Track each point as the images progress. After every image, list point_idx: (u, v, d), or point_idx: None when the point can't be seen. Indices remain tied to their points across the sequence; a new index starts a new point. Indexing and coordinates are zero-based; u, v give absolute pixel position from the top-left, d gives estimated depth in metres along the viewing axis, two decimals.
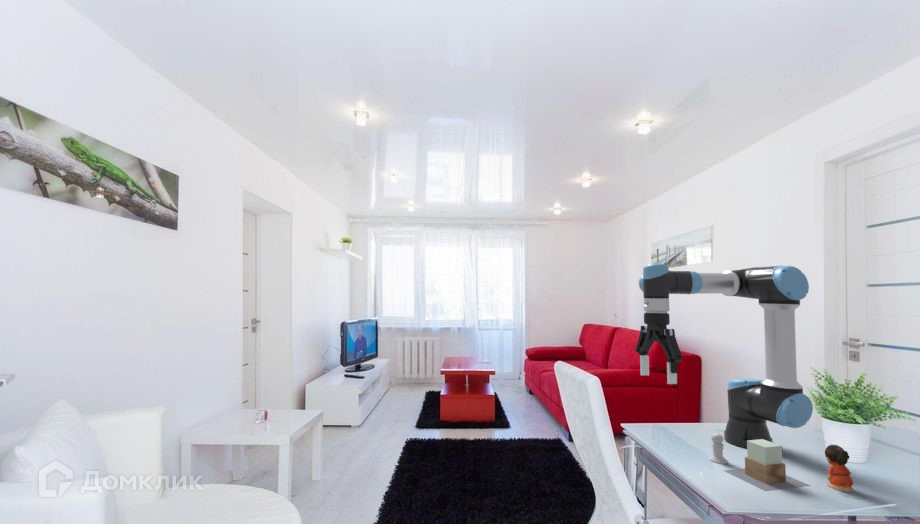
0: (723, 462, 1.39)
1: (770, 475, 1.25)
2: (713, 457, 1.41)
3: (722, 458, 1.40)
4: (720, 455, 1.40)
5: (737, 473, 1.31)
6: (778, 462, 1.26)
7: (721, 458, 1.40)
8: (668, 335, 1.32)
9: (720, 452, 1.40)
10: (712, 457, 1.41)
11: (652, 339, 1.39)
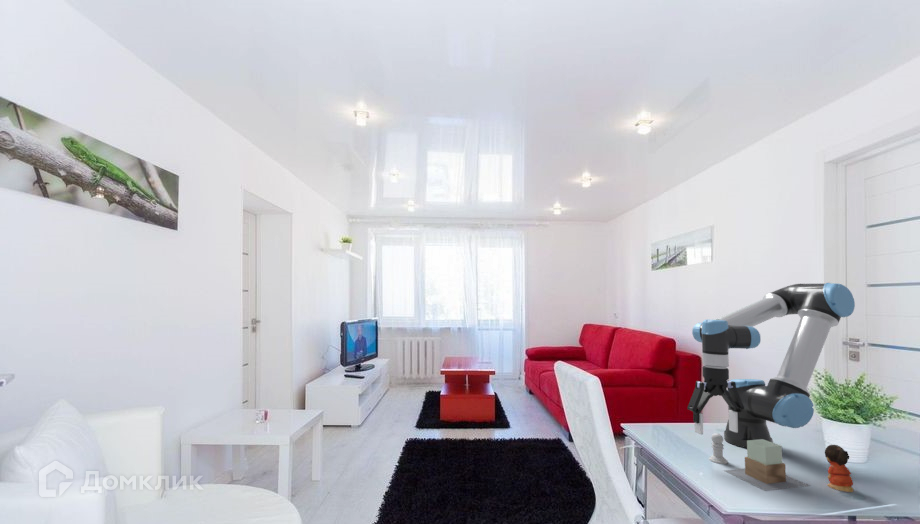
0: (723, 462, 1.39)
1: (770, 475, 1.25)
2: (713, 457, 1.41)
3: (722, 458, 1.40)
4: (720, 455, 1.40)
5: (737, 473, 1.31)
6: (778, 462, 1.26)
7: (721, 458, 1.40)
8: (695, 387, 1.42)
9: (720, 452, 1.40)
10: (712, 457, 1.41)
11: None
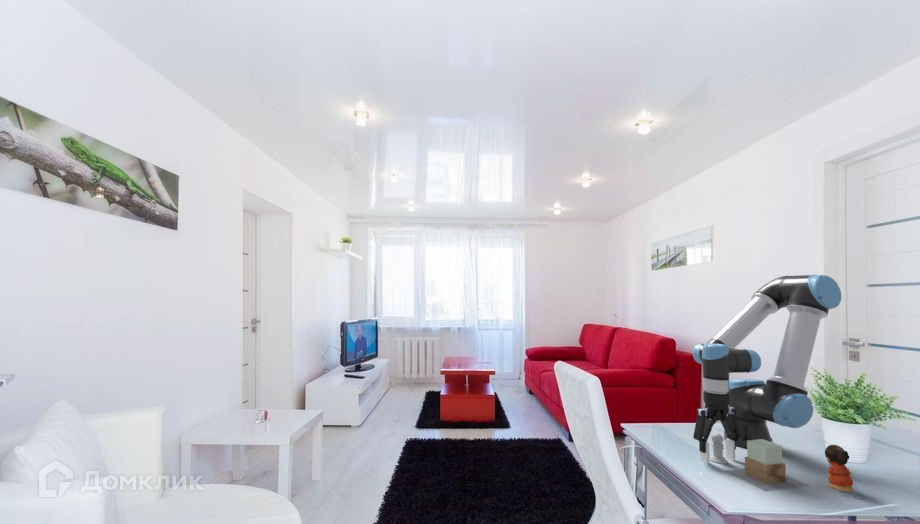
0: (723, 462, 1.39)
1: (770, 475, 1.25)
2: (713, 457, 1.41)
3: (722, 458, 1.40)
4: (720, 455, 1.40)
5: (737, 473, 1.31)
6: (778, 462, 1.26)
7: (721, 458, 1.40)
8: (697, 414, 1.42)
9: (720, 452, 1.40)
10: (712, 457, 1.41)
11: None
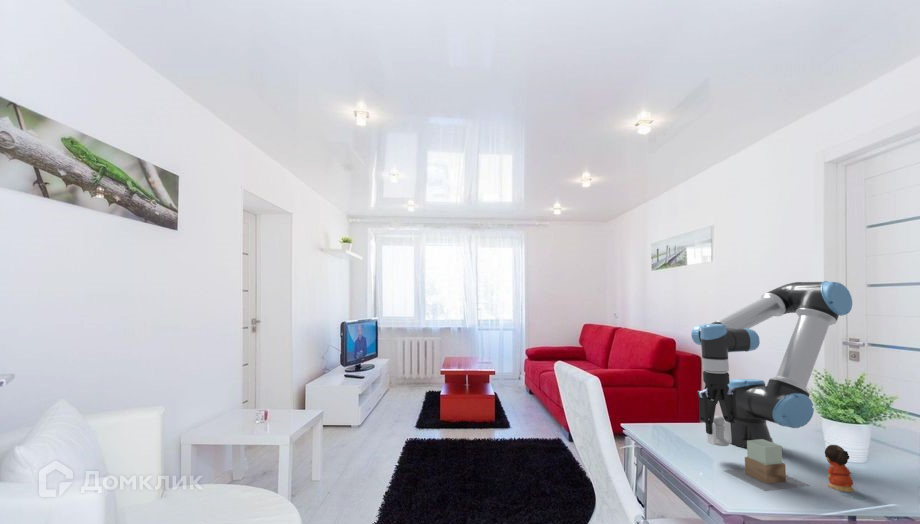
0: (724, 444, 1.39)
1: (770, 475, 1.25)
2: None
3: (723, 440, 1.40)
4: (721, 437, 1.41)
5: (737, 473, 1.31)
6: (778, 462, 1.26)
7: (722, 440, 1.40)
8: (699, 397, 1.42)
9: (721, 434, 1.41)
10: None
11: None
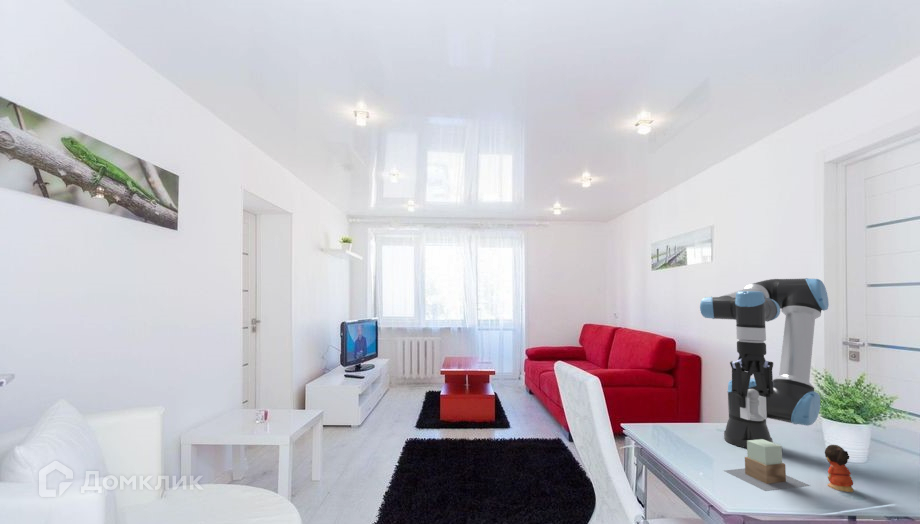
0: (759, 418, 1.29)
1: (770, 475, 1.25)
2: None
3: (758, 414, 1.30)
4: (755, 411, 1.30)
5: (737, 473, 1.31)
6: (778, 462, 1.26)
7: (757, 414, 1.30)
8: (732, 368, 1.32)
9: (755, 408, 1.31)
10: None
11: None
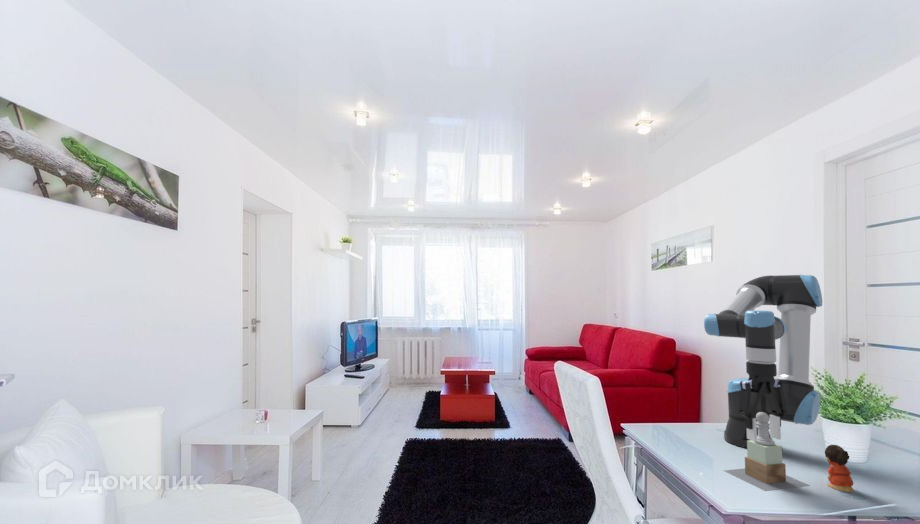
0: (770, 443, 1.27)
1: (770, 475, 1.25)
2: (758, 438, 1.29)
3: (768, 439, 1.28)
4: (766, 435, 1.28)
5: (737, 473, 1.31)
6: (778, 462, 1.26)
7: (767, 439, 1.28)
8: (741, 388, 1.30)
9: (766, 432, 1.28)
10: (757, 438, 1.29)
11: None
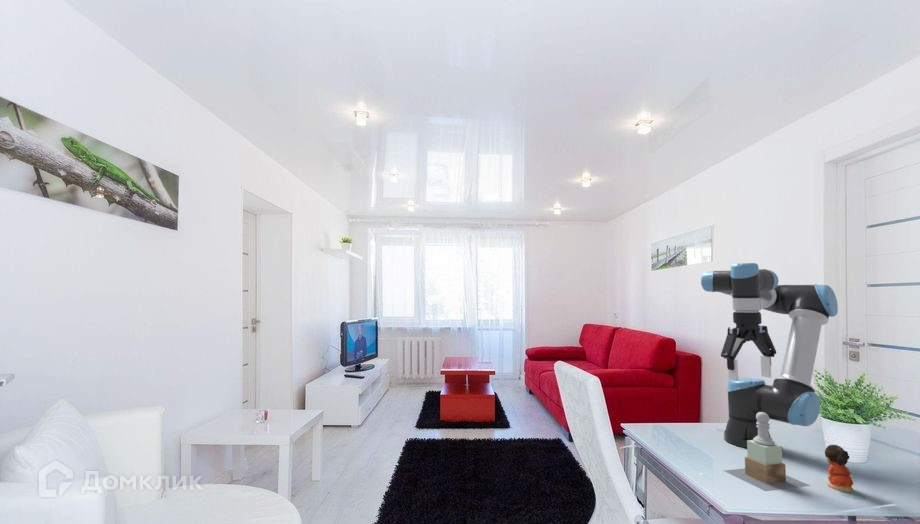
0: (770, 443, 1.27)
1: (770, 475, 1.25)
2: (758, 438, 1.29)
3: (768, 439, 1.28)
4: (766, 435, 1.28)
5: (737, 473, 1.31)
6: (778, 462, 1.26)
7: (767, 439, 1.28)
8: (728, 333, 1.37)
9: (766, 432, 1.28)
10: (757, 438, 1.29)
11: None
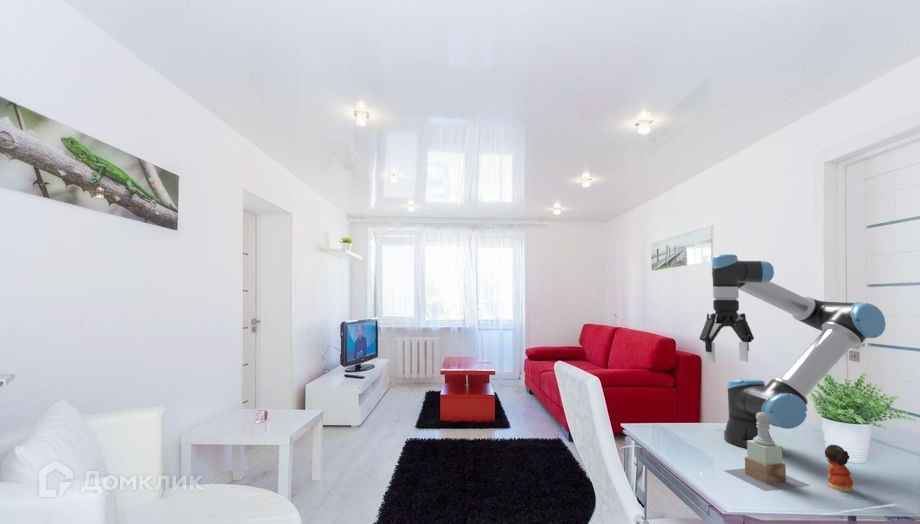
0: (770, 443, 1.27)
1: (770, 475, 1.25)
2: (758, 438, 1.29)
3: (768, 439, 1.28)
4: (766, 435, 1.28)
5: (737, 473, 1.31)
6: (778, 462, 1.26)
7: (767, 439, 1.28)
8: (707, 318, 1.48)
9: (766, 432, 1.28)
10: (757, 438, 1.29)
11: None
